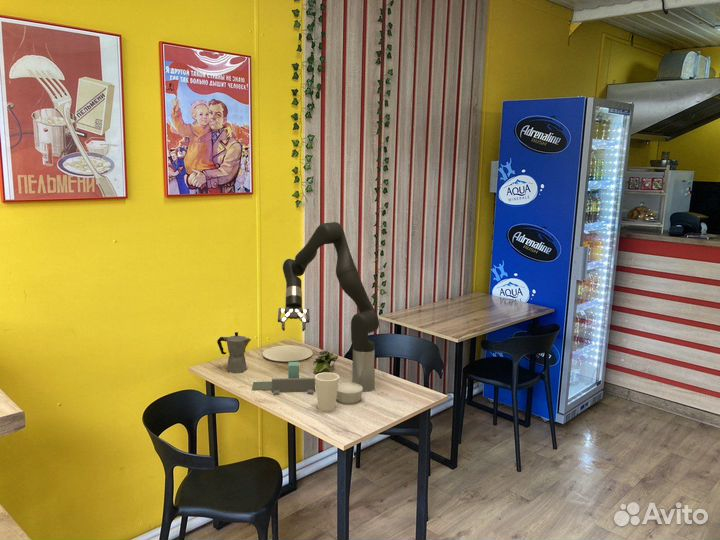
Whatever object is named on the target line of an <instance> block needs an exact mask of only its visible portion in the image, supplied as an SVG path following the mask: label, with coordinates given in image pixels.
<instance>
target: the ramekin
mask: <svg viewBox="0 0 720 540" xmlns="http://www.w3.org/2000/svg"><path fill="white" fill-rule="evenodd" d="M362 391H363V387H362V386H360V385H359V384H355V383H352V382H342V383H339V384H338V391H337V397H336V401H338V402H339V403H342V404H344V405H345V404H347V405H348V404H349V405H351V404H356V403H357V404H358V402H360V400H361V399H362V393H363V392H362Z"/></svg>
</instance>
